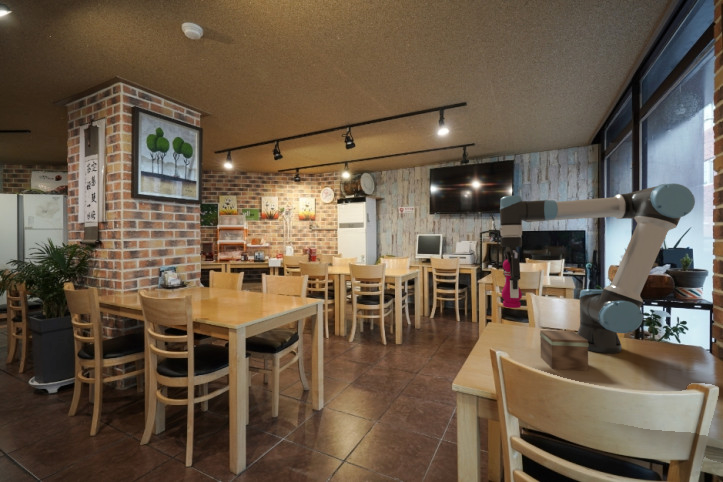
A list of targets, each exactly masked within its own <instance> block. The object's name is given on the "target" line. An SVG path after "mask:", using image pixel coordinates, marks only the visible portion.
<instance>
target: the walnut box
mask: <svg viewBox="0 0 723 482" xmlns="http://www.w3.org/2000/svg"><path fill="white" fill-rule="evenodd" d="M539 335H540V337H539V338H540V340H539V341H540V342H539V343H540V359H542V360H543V361H544V362H545V363H546V364H547V365H548V366H549V367H550V368H551V369H554V370H571V371H585V372H588V371H589V350H588V347H589V343H588V340H586V339H585V338H583V337H581V336H580V335H578V334H577V332H575V331H573V330H553V329H552V330H548V329H547V330H546V329H545V330H544V329H540V332H539Z"/></svg>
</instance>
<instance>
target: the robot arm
mask: <svg viewBox="0 0 723 482" xmlns="http://www.w3.org/2000/svg"><path fill="white" fill-rule="evenodd" d="M499 203H500V206H499V207H500V208H499V217H500V221H499V222H500V223H499V224H500V227H499V228H498V230H499V232H500V247H503V248H505V250H504V251H503V262H504V261H505V260H507V259H508V263H510V273H511V279H509V281H510V298H519V288H520V286H519V280H521V263H520V261H521V260H520V254H521V253H520V252H518V251H517V248H519V247H522V246H523V238H522V236H523V225H522V222H526V223H534V222H547V221H561V220H563V221H564V220H579V219H596V218H598V219H599V218H611V217H612V218H613V217H614V218H616V219H617V220H622V219H626V220H627V219H632V220H633V219H634V220H635V222H636V226H635V229H634V230H633V233H632V235H631V238H630V239H629V243H628V244H627V247H626V249H625V251H624V254H623V256H622V258H621V261H620V263H619V265H618V268H617V270H616V272H615V274H614V277H613V279H612V281H611V284H610V285H608V286H605V287H603V288H602V289H581V290H580V291H579V297H578V298H579V326H578V327H579V328H578V331H577V332H576V333H577V334H578V335H580V336H581V337H583V338H585V339H586V340H588V343H589V347H588V351H590V352H594V353H595V352H596V353H601V354H602V353H603V354H617V353H621V352H622V343H621V341H620V338H619V335H618V334H628V333H632V332H634V331H636V330H637V329H639V328H640V326H641V325H642V323H643V320H644V315H643V313H642V310H641V307H642V305H643V303H644V301H643V298H642V297H641V293H642V291H643V288H644V286H645V284H646V282H647V280H648V277H649V275H650V273H651V270H652V268H653V266H654V263H656V262H655V261H656V260H657V257H658V255H659V252H660V250H661V248H662V246H663V243H664V241H665V239H666V237H667V235H668V233H669V231H671V230H674V229H676V228H677V226H678V224H679V222H680V220H681V218H682V217H685V216H687V215H689V214H690V213H691V212H692V211H693V210H694V208H695V203H696V199H695V195H694V194H693V192H692V191H691V190H690V189H689V188H688V187H687V186H685V185H683V184H679V183H663V184H659V185H657V186H653V187H648V188H644V189H640V190H636V191H632V192H629V193H619V194H618V193H617V194H615V196H612V197H604V198H603V197H602V198H601V197H600V198H588V199H587V198H586V199H575V200H565V201H556V200H553V199H551V200H550V199H543V200H527V201H526V200H523V199H522V197H521V195H508V196H503V197H501V198H500V202H499ZM504 271H505V269H504V268H503V274H502V275H504V274H505V272H504ZM505 282H506V276H505V275H504V283H505Z"/></svg>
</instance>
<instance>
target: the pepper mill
mask: <svg viewBox="0 0 723 482" xmlns="http://www.w3.org/2000/svg"><path fill="white" fill-rule="evenodd" d="M502 268H503V273H504V272H505V274H503V276H504V277H505V276H506V277H505V278H506V282H505V281H504V285H503V287H502V290H501V297H502V299H503V301H502V306H503V307H504V308H507V309H519V308H521V306H522V305H521V299H522V298H523V293H522V290H521V288H520V287H519V298H510V281H509V279H511V273H510V263H508V259H507V260H505V261H504V260H503V263H502ZM504 269H505V271H504Z"/></svg>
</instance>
